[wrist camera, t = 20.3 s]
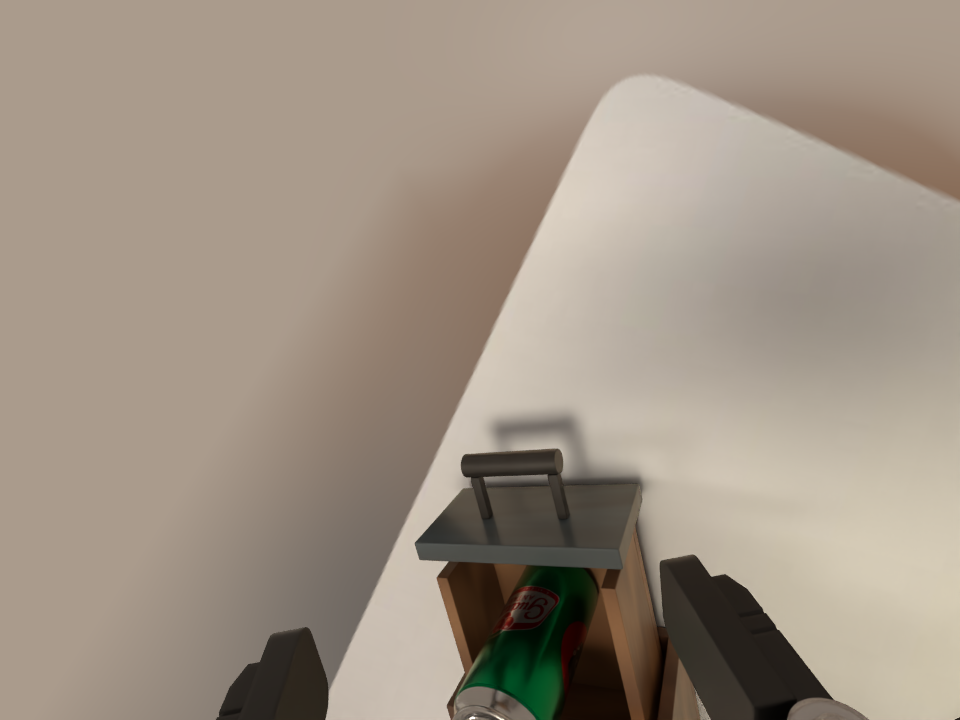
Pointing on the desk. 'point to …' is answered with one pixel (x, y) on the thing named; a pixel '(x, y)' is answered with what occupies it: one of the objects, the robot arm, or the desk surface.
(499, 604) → the drawer
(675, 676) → the cabinet
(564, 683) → the soda can
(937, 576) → the desk surface
